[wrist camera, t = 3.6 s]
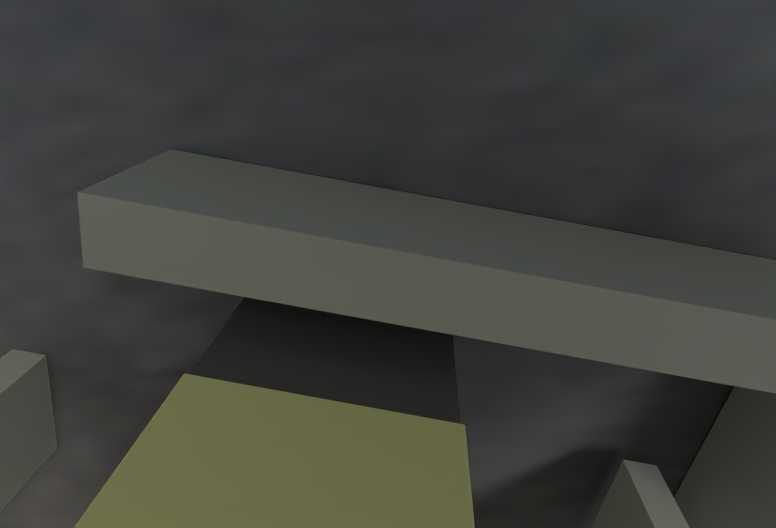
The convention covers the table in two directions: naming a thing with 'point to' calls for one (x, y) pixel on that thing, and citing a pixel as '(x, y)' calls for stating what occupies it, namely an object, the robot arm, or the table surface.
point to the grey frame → (468, 287)
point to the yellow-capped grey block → (301, 432)
